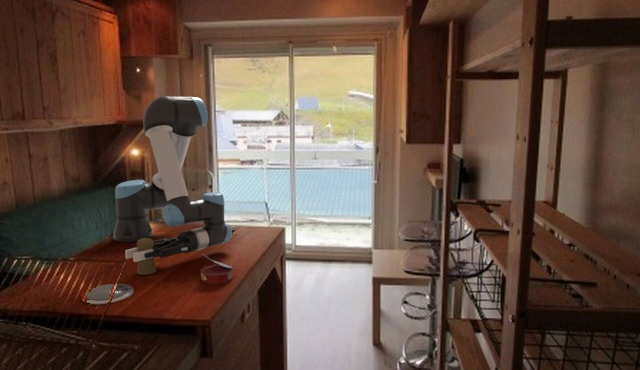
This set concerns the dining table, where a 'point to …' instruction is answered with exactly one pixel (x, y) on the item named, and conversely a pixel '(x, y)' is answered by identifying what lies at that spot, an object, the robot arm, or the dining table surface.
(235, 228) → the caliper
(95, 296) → the seat plate
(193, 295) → the dining table surface
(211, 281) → the canned food
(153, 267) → the cork
